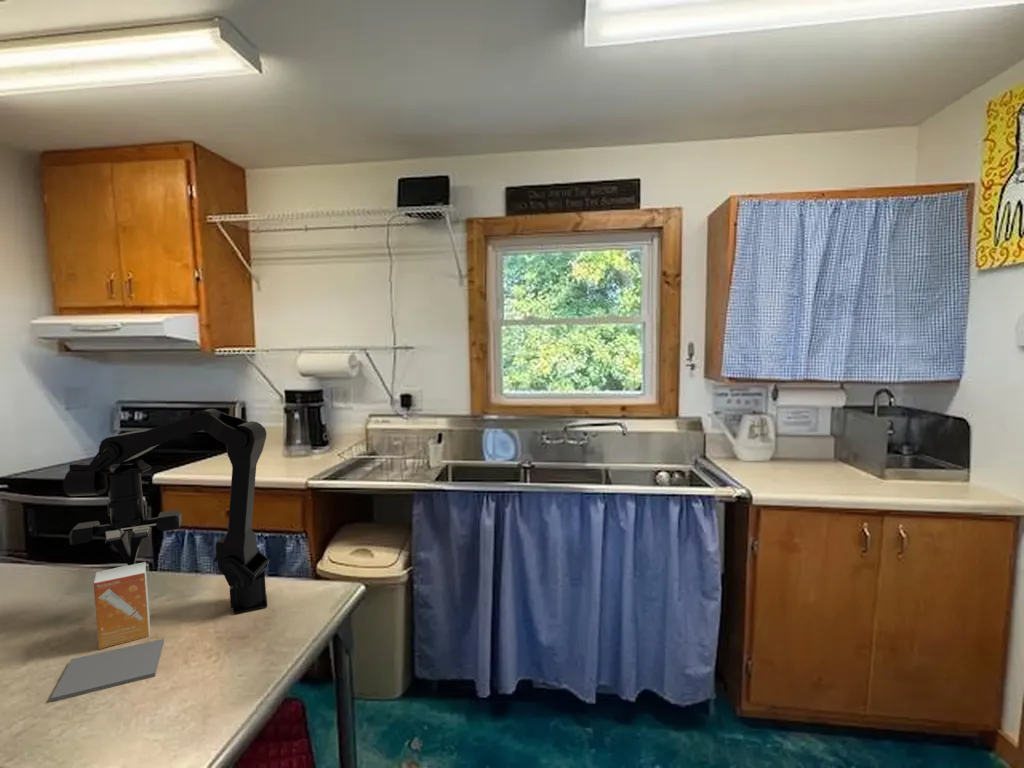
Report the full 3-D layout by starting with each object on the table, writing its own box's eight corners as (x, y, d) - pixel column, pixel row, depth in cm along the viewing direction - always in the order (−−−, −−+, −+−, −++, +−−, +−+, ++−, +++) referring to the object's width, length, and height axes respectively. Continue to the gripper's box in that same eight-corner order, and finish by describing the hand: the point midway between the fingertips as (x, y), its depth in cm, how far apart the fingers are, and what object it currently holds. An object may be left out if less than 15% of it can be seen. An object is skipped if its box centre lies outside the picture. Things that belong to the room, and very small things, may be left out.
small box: (98, 650, 101) (92, 583, 100) (101, 635, 106) (95, 571, 105) (150, 636, 105) (145, 571, 104) (150, 622, 110) (145, 560, 109)
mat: (163, 641, 103) (163, 638, 103) (154, 676, 93) (154, 672, 92) (71, 662, 97) (71, 659, 97) (50, 701, 86) (50, 698, 86)
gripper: (181, 478, 124) (186, 544, 126) (80, 490, 116) (86, 561, 118) (176, 490, 114) (181, 562, 116) (65, 504, 106) (72, 581, 108)
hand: (131, 565), depth 114 cm, fingers closed
